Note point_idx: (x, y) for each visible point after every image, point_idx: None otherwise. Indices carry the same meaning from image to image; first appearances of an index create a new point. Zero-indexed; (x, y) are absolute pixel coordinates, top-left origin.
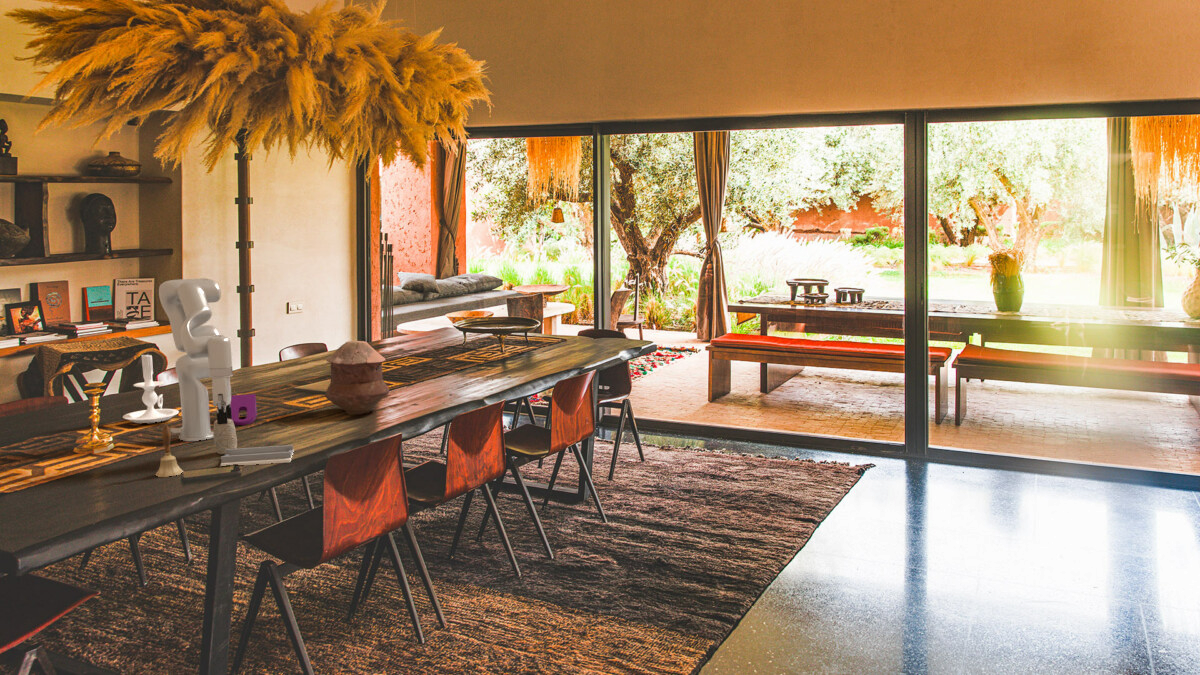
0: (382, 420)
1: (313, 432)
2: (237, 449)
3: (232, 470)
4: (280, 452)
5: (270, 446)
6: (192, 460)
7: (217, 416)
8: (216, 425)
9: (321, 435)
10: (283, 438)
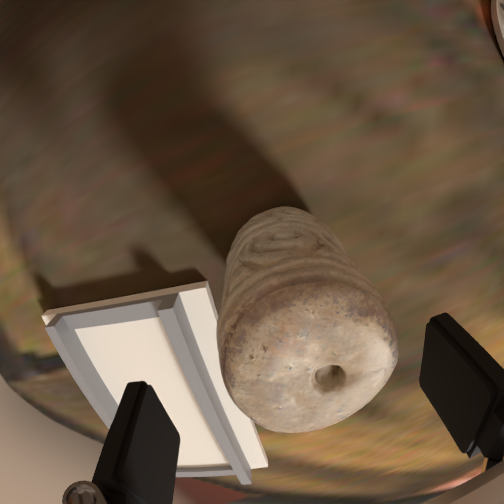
0: None
1: None
2: (178, 360)
3: (31, 355)
4: None
5: (231, 448)
6: (131, 126)
7: (109, 445)
8: (230, 318)
9: (447, 439)
10: None
